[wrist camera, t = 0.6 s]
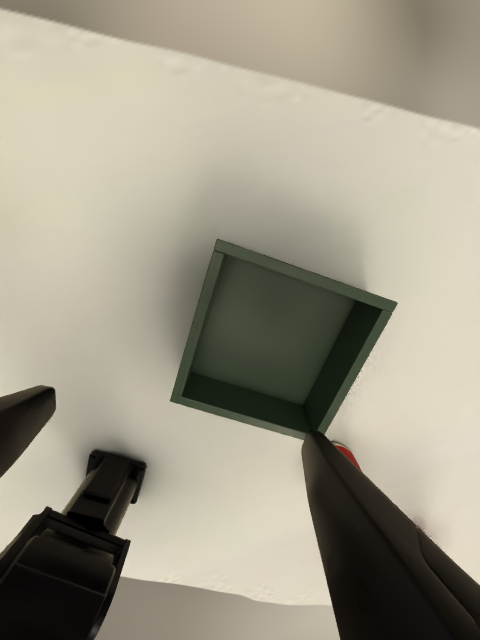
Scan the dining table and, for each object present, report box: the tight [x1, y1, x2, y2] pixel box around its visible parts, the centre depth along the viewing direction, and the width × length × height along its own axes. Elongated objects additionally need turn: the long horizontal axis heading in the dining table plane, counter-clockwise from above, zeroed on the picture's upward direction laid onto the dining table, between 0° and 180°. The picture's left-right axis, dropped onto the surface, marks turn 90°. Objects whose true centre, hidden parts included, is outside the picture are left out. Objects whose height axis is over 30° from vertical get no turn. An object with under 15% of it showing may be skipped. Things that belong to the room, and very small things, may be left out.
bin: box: [170, 239, 398, 440], centre depth 20 cm, size 14×14×4 cm
